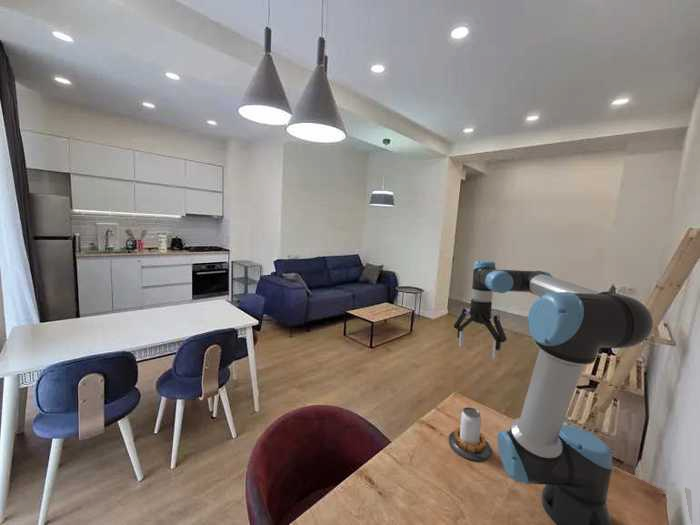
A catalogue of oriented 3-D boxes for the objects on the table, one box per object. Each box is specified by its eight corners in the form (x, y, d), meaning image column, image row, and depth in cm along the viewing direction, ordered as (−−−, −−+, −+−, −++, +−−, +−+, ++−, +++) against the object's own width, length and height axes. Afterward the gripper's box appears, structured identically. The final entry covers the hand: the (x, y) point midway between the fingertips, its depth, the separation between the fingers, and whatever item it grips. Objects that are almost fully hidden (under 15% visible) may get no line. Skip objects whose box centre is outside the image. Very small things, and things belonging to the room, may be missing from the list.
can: (478, 452, 100) (481, 420, 98) (458, 445, 103) (460, 414, 101) (479, 440, 105) (482, 410, 104) (460, 434, 108) (463, 404, 107)
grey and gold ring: (497, 447, 103) (498, 438, 103) (479, 468, 94) (480, 458, 94) (460, 427, 114) (461, 418, 113) (441, 443, 105) (441, 434, 104)
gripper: (519, 305, 107) (514, 359, 110) (456, 292, 126) (453, 339, 128) (511, 308, 102) (506, 365, 105) (447, 294, 121) (444, 343, 123)
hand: (477, 351), depth 116 cm, fingers open, 13 cm apart
